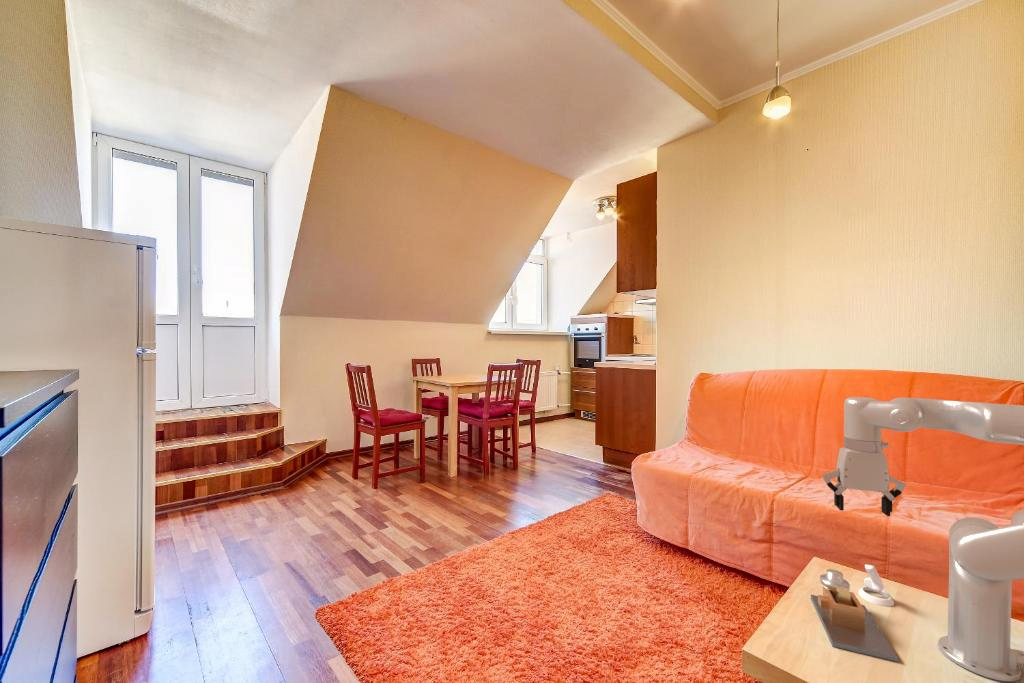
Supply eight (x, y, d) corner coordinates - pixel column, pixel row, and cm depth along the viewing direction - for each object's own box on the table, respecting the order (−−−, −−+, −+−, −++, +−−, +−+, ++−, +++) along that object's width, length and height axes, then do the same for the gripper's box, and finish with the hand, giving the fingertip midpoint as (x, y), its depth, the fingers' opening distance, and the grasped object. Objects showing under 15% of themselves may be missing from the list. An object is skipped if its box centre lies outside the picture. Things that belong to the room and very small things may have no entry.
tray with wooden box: (861, 606, 116) (862, 572, 116) (897, 662, 96) (898, 621, 96) (809, 595, 120) (809, 563, 120) (832, 646, 100) (833, 607, 100)
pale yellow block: (846, 614, 110) (847, 587, 110) (850, 623, 107) (851, 596, 107) (835, 611, 111) (835, 585, 111) (838, 620, 108) (839, 593, 108)
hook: (847, 583, 118) (848, 560, 122) (861, 610, 121) (862, 587, 125) (882, 589, 112) (882, 565, 117) (896, 617, 115) (895, 593, 120)
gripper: (897, 445, 111) (897, 510, 111) (818, 439, 117) (818, 501, 117) (912, 452, 104) (912, 522, 104) (826, 445, 110) (826, 511, 110)
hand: (862, 511), depth 110 cm, fingers open, 9 cm apart
